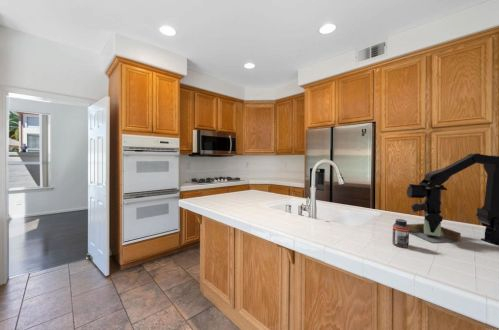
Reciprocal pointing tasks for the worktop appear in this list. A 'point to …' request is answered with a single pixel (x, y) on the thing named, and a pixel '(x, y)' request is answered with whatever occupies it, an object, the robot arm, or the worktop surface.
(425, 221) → the cube
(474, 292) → the worktop surface
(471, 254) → the worktop surface
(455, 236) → the corner arena
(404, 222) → the supplement bottle
